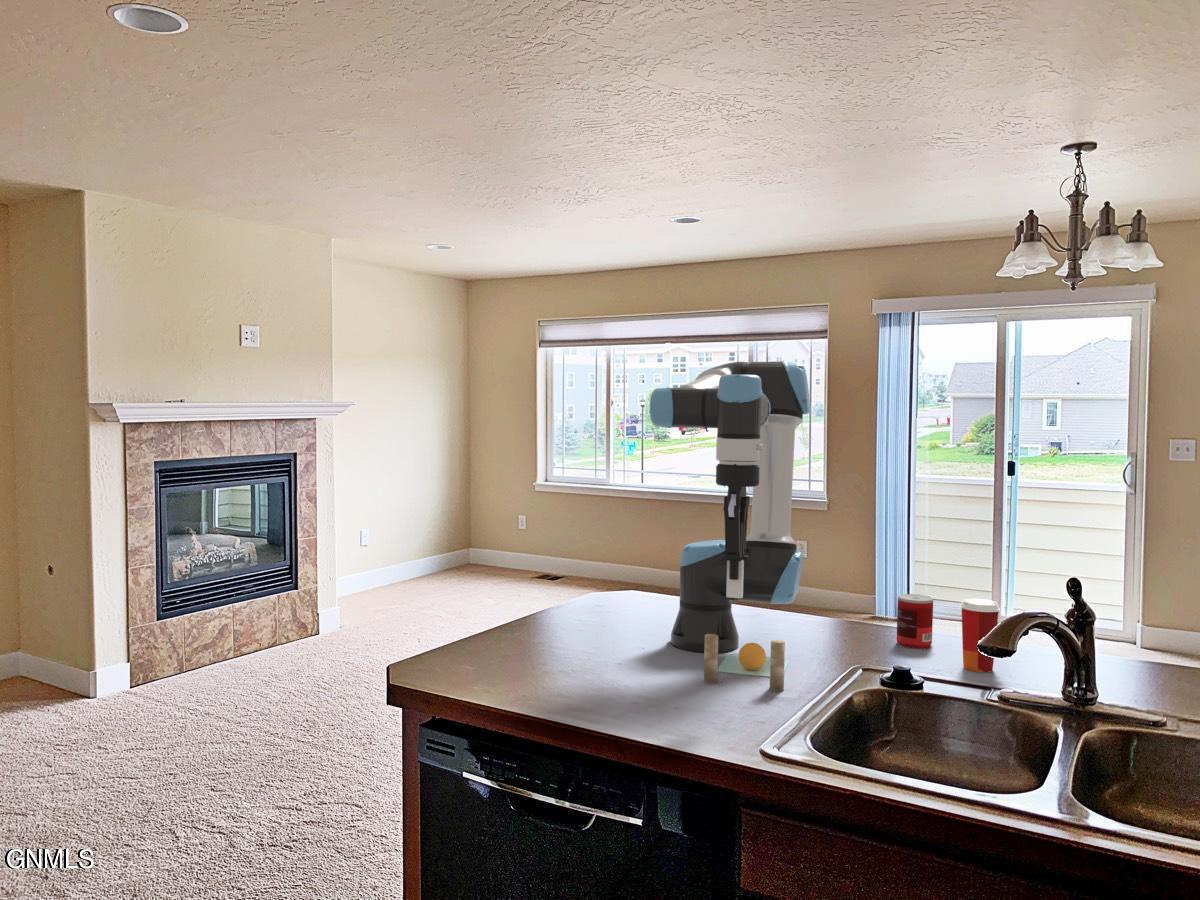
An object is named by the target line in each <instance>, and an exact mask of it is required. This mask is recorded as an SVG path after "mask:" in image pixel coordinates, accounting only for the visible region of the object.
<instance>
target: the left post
mask: <svg viewBox="0 0 1200 900" xmlns="http://www.w3.org/2000/svg"><path fill="white" fill-rule="evenodd" d="M703 653H704V657H703V682H704V684H708V685H713V684H717V683H718V668H719V665H718V664H719V662H718V661H719V652H718V635H716V634H706V635H705V648H704V652H703Z"/></svg>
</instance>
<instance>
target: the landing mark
mask: <svg viewBox="0 0 1200 900" xmlns="http://www.w3.org/2000/svg"><path fill="white" fill-rule="evenodd" d="M789 663H790V660H786V659H784V674H785V672H786V670H787V668H788V665H789ZM718 672H719V673H726V674H728V673H729V674H736V675H738V674H739V675H746V676H756V677H757V676H758V677H763V678H764V677H765V678H767V677H768V678H770V658H767V657H766V661H765V663H764V665H763V666H762V667H761V668H760V669H758V670H748V669H746V668H744V667H743V666H742V665H741V663H740V661H739V654H738V655H736V654H727V655H726V656H725V658H724V659H723V660H722V662H721V663H720V665H718ZM718 672H717V673H718Z"/></svg>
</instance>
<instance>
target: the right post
mask: <svg viewBox="0 0 1200 900" xmlns="http://www.w3.org/2000/svg"><path fill="white" fill-rule="evenodd" d="M785 646H786V641H785V640H781V639H780V640H779V639H774V640H771V641H770V655H769V656H770V658H769V659H770V677H769V690H770V691H772V692H783V691H784V690H785V688H784V687H785V673H784V660H786V659H785V658H786V657H785V655H786V653H785V651H786V647H785Z"/></svg>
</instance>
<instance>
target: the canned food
mask: <svg viewBox="0 0 1200 900" xmlns="http://www.w3.org/2000/svg"><path fill="white" fill-rule="evenodd" d="M896 614H897V615H896V618H897V619H896V643H897V644H898V645H899V646H900V647H903V648H906V647H907V648H906V649H912V648H913V649H916V650H925V649H924V648H926V649H929V648H931V646H932V643H933V624H934V623H933V621H934V618H933V617H934V598H933V597H931V596H928V595H924V594H915V593H902V594H899V595H898V596H897V612H896Z"/></svg>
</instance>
